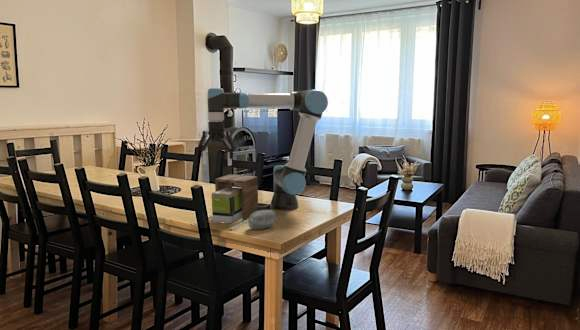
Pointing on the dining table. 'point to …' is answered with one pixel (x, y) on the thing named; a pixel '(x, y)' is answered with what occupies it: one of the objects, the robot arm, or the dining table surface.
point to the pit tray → (264, 206)
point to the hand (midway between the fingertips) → (217, 164)
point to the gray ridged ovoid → (262, 219)
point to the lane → (235, 225)
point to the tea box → (227, 205)
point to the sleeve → (247, 191)
